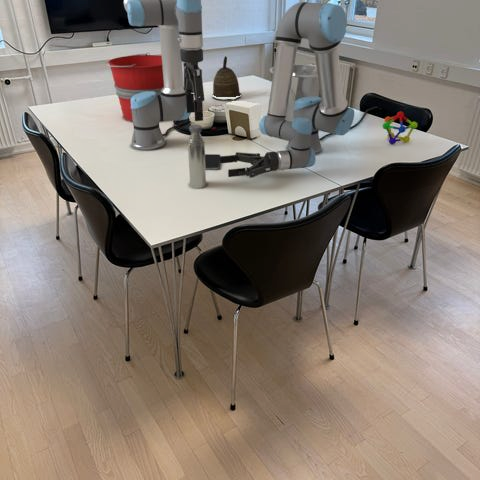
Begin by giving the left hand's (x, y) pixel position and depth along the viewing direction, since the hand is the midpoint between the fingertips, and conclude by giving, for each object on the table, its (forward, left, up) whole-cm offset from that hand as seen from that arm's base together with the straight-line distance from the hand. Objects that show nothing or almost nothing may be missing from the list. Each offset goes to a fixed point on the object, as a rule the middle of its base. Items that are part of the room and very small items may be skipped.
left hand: (194, 116), depth 156 cm
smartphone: (-23, +1, -26) cm, 35 cm away
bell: (-131, -8, -26) cm, 134 cm away
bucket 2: (-79, +36, -26) cm, 91 cm away
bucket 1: (-86, -47, -26) cm, 101 cm away
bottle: (0, 0, -26) cm, 26 cm away
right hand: (-4, +10, -20) cm, 22 cm away
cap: (0, 0, -4) cm, 4 cm away
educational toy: (-58, +84, -26) cm, 106 cm away
